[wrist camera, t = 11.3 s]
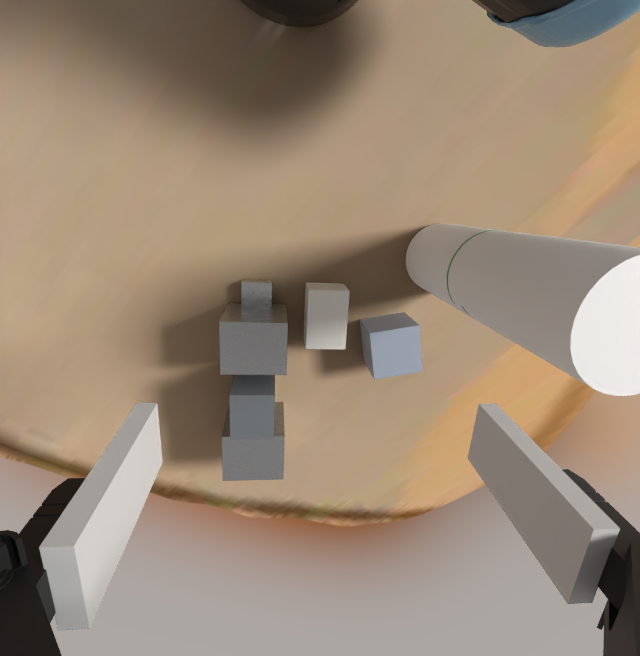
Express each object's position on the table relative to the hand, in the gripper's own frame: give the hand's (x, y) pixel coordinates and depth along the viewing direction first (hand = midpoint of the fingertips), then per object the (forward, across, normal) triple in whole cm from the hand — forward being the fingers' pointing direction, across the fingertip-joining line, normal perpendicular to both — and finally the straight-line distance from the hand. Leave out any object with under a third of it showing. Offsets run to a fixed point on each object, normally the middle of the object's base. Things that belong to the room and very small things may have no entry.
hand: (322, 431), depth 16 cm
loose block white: (+27, +3, -3) cm, 27 cm away
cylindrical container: (+28, +15, +3) cm, 31 cm away
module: (+25, -4, -11) cm, 28 cm away
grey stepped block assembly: (+27, -4, -10) cm, 29 cm away
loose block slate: (+27, +10, -6) cm, 29 cm away
